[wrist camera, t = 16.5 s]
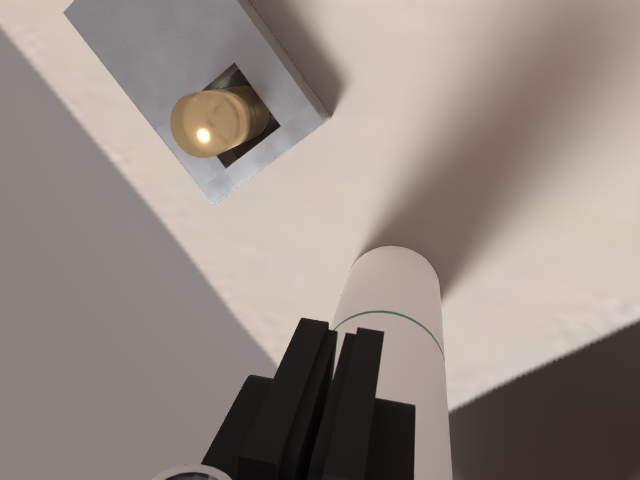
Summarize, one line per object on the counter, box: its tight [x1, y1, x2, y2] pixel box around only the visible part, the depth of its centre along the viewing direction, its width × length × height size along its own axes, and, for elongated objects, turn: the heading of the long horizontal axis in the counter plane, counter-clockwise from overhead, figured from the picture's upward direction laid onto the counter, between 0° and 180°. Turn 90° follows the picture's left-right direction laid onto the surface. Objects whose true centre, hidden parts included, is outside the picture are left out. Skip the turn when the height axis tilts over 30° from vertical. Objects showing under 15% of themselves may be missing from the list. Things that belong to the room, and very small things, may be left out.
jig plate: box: [63, 0, 331, 205], centre depth 37 cm, size 16×10×3 cm, turn 37°
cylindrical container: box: [330, 246, 452, 480], centre depth 30 cm, size 7×7×25 cm
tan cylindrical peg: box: [170, 85, 270, 158], centre depth 35 cm, size 4×4×8 cm
